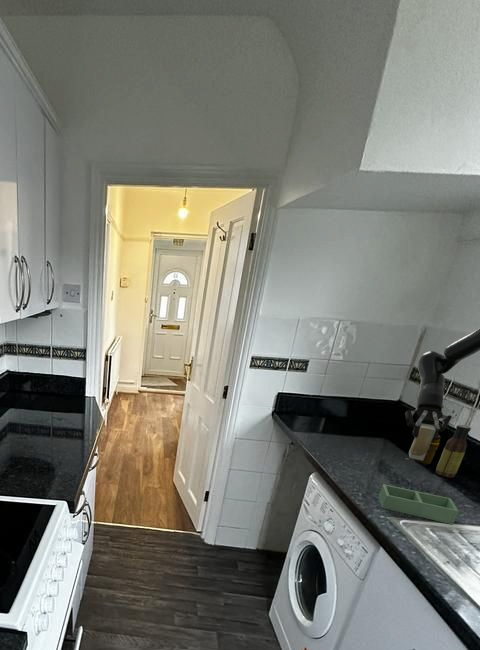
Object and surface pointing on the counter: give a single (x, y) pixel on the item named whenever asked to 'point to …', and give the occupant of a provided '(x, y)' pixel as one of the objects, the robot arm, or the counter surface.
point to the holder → (418, 504)
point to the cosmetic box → (422, 441)
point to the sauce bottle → (453, 452)
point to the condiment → (429, 452)
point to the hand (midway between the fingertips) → (424, 437)
